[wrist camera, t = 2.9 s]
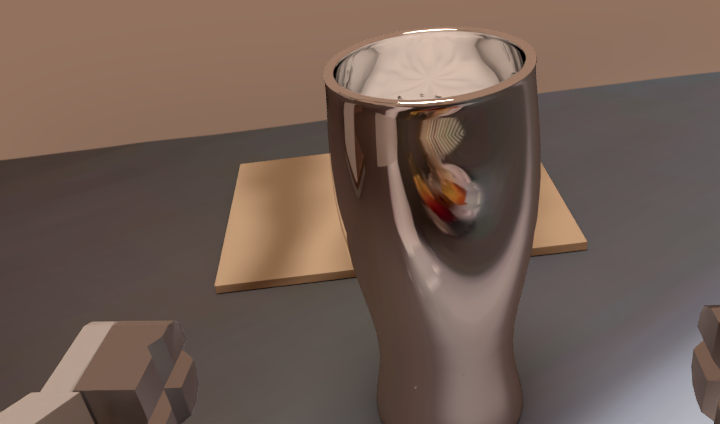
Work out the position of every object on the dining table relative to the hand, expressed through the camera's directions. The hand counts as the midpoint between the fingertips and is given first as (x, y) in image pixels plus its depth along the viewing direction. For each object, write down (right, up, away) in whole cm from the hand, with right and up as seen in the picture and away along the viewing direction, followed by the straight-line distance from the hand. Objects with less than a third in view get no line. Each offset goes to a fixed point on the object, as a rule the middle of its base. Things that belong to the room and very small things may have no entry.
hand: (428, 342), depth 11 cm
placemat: (+1, +3, +32) cm, 32 cm away
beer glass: (+3, -6, +18) cm, 19 cm away
